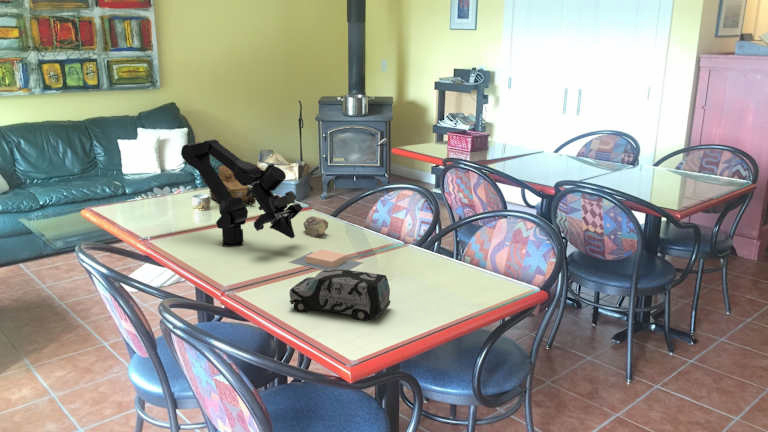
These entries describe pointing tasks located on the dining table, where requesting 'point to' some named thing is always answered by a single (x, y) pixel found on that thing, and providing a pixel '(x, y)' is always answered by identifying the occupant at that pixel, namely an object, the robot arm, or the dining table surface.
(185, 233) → the dining table surface
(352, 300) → the toy car
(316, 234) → the rock
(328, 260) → the block
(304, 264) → the mat
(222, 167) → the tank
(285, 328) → the dining table surface
